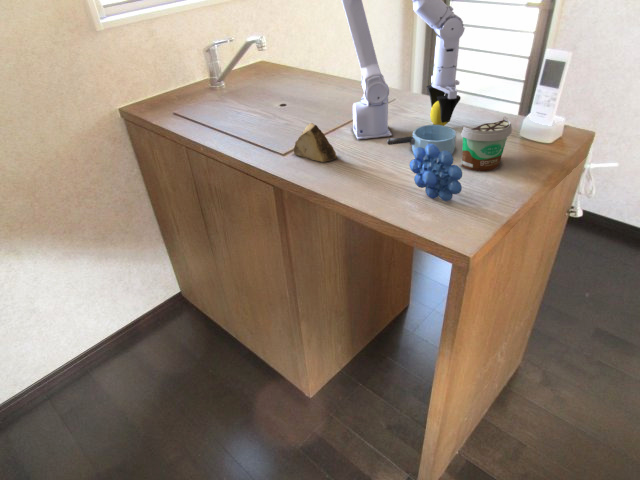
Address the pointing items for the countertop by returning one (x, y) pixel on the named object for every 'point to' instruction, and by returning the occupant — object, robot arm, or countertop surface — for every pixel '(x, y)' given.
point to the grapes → (436, 172)
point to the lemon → (436, 114)
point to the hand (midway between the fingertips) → (440, 116)
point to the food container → (485, 145)
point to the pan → (435, 137)
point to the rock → (314, 145)
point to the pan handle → (401, 140)
